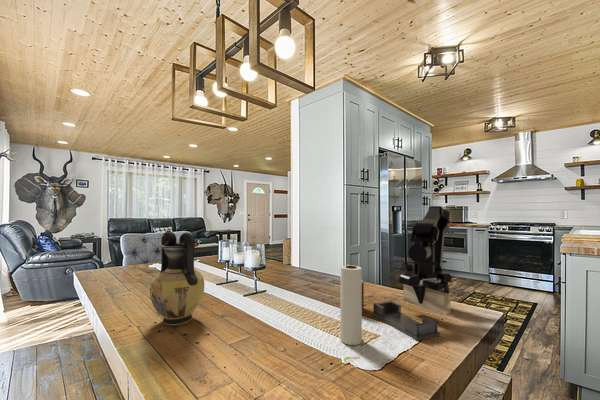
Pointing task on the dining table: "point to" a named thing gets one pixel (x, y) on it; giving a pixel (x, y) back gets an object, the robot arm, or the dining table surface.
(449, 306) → the beige rectangular block
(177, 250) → the amphora
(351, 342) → the paper towel roll
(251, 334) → the dining table surface
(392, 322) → the bracket
